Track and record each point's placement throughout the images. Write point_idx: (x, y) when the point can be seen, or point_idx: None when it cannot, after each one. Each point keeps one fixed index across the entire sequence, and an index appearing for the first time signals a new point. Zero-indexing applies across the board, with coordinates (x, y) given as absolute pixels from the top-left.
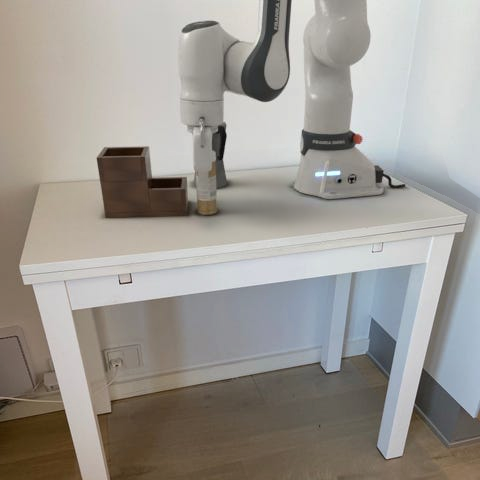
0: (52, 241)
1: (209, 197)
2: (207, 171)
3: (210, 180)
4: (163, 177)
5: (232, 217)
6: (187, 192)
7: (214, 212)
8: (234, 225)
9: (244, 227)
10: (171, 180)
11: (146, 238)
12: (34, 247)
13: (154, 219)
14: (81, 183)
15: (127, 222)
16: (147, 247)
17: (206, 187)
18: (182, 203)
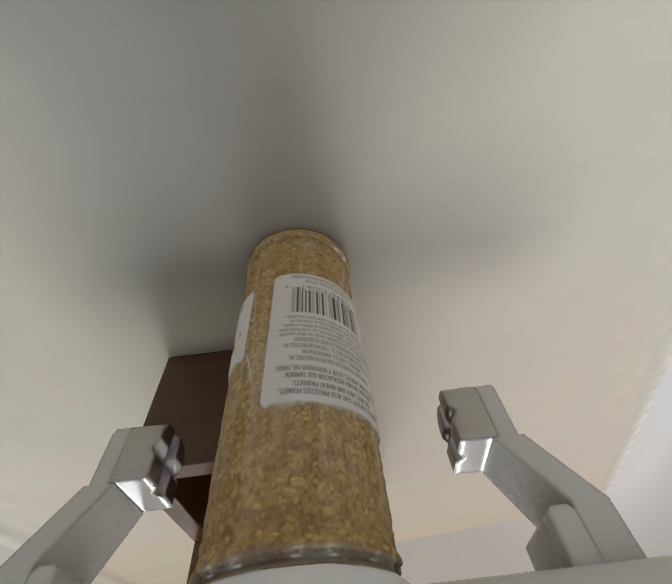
0: (498, 508)
1: (354, 315)
2: (619, 520)
3: (368, 399)
4: (179, 523)
5: (375, 129)
6: (169, 396)
7: (330, 240)
8: (513, 106)
9: (568, 31)
10: (184, 493)
11: (546, 394)
12: (520, 516)
13: (383, 408)
14: (108, 565)
15: (403, 450)
16: (618, 380)
17: (492, 390)
18: None
